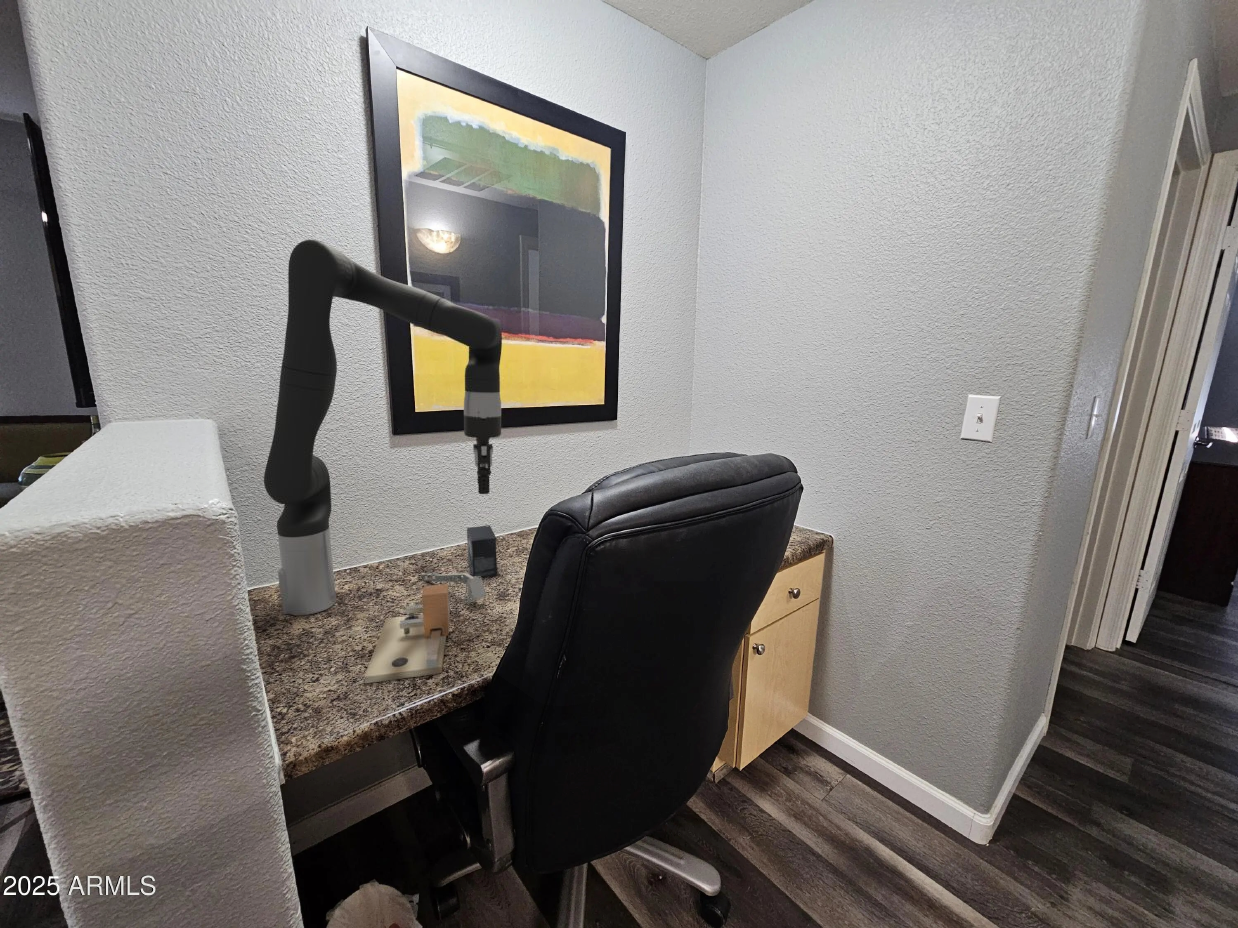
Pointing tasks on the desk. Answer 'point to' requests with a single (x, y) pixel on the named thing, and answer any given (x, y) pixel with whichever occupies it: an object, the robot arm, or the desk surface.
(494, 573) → the small box
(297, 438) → the robot arm
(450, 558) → the desk surface
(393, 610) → the desk surface
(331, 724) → the desk surface
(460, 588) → the desk surface
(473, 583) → the bracket
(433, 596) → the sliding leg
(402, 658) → the bolt plate
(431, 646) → the divider beam
